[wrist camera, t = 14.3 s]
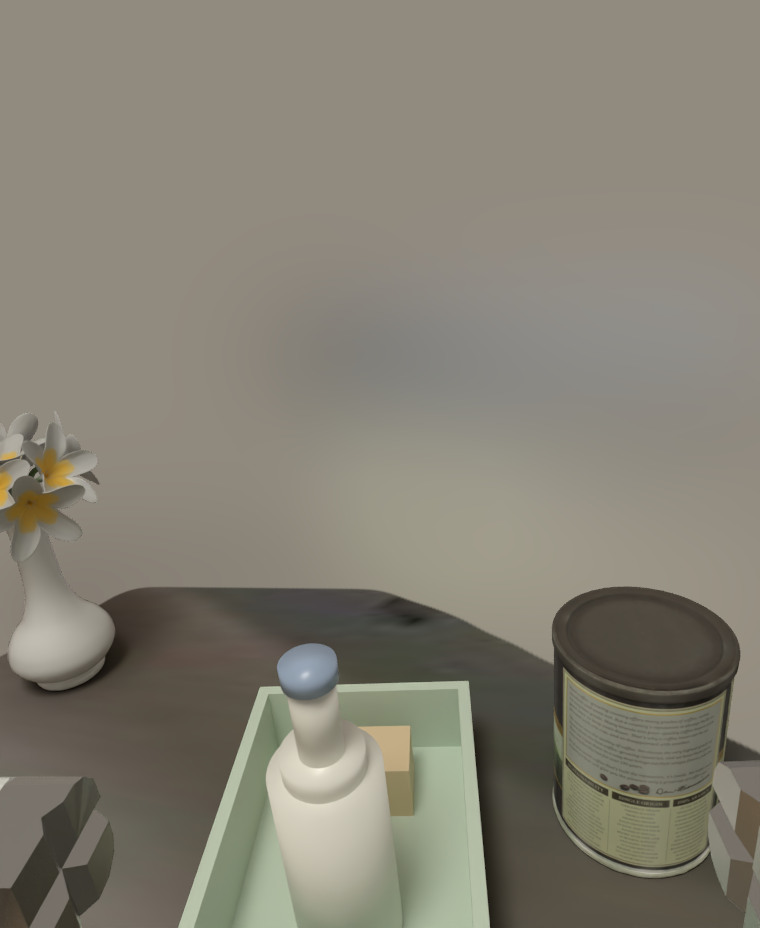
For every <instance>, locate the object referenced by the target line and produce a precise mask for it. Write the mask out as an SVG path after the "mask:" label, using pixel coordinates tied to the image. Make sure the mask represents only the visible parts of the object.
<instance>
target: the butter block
mask: <svg viewBox="0 0 760 928" xmlns="http://www.w3.org/2000/svg"><path fill="white" fill-rule="evenodd" d="M358 728H360V729H362V730H364V731H365V732H367V733H368V734H370V735H371V736H372V737H373V738H374V739H375V741H376V742H377V743H378V745H379V747H380V749H381V751H382V755H383V761H384V769H385V777H386V785H387V793H388V801H389V809H390V816H413V809H414V759H413V749H412V738H411V727H410V726H369V727H358Z"/></svg>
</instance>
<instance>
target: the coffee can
mask: <svg viewBox="0 0 760 928" xmlns="http://www.w3.org/2000/svg"><path fill="white" fill-rule="evenodd" d="M552 641H553V645H554V785H553V793H552V794H553V805H554V809H555V812H556V815H557V818H558V820H559V822H560V825H561V827H562V828H563V830H564V831H565V833H566V834H567V835H568V837H569V838H570V839H571V840H572V841H573V842H574V843H575V844H576V845H577V846H578V847H579V848H580V849H581V850H582V851H583V852H585V853H586V854H587V855H588V856H590V857H591V858H593V859H594V860H596V861H597V862H599V863H601V864H603V865H605V866H606V867H609V868H610V869H612V870H615V871H618V872H621V873H626V874H629V875H632V876H637V877H643V878H664V877H671V876H675V875H679V874H683V873H685V872H687V871H688V870H690V869H692V868H694V867H696V866H697V865H698V864H700V863H701V862H702V861H703V860H704V859H705V858H706V857H707V855H708V854H709V852H710V844H709V837H708V821H709V811H710V810H711V809H713V808H714V807H715V806H716V805H717V804H718V800H719V798H718V796H717V794H716V792H715V790H714V787H713V785H712V783H713V776H714V769H715V768H716V766H717V765H718V763H719V762H723V761H724V754H725V745H726V737H727V730H728V722H729V714H730V706H731V698H732V691H733V684H734V676H735V675H736V673H737V670H738V666H739V661H740V648H739V643H738V640H737V638H736V636H735V634H734V632H733V631H732V630H731V628H730V627H729V626H728V625H727V624H726V623H725V622H724V621H723V620H722V619H721V618H720V617H719V616H717V615H716V614H715V613H713V612H712V611H710V610H708V609H707V608H706V607H704V606H702V605H700V604H698V603H696V602H694V601H692V600H689V599H687V598H685V597H682V596H679V595H676V594H673V593H668V592H664V591H660V590H655V589H649V588H640V587H610V588H603V589H598V590H593V591H590V592H587V593H584V594H581V595H579V596H577V597H575V598H573V599H571V600H570V601H568V602H567V603H566V604H564V605H563V606H562V607H561V609H560V610H559V611H558V612H557V613H556V616H555V618H554V620H553V625H552Z"/></svg>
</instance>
